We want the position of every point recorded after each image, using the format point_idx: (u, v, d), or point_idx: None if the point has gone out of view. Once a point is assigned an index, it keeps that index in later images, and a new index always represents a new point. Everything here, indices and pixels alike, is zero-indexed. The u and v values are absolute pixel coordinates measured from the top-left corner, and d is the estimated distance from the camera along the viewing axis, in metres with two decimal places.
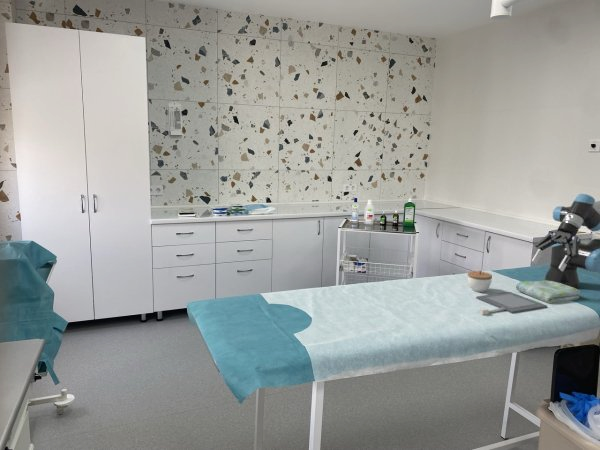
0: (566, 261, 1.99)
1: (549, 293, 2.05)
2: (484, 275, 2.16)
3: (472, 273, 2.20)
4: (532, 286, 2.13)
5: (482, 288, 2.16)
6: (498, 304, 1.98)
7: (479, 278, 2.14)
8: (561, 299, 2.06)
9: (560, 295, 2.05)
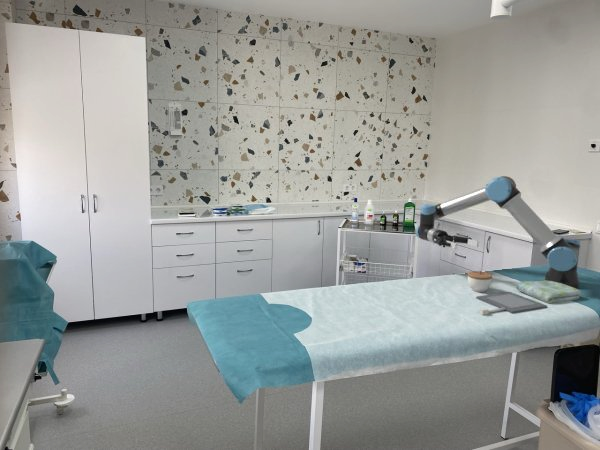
0: (448, 245, 2.27)
1: (549, 293, 2.05)
2: (484, 275, 2.16)
3: (472, 273, 2.20)
4: (532, 286, 2.13)
5: (482, 288, 2.16)
6: (498, 304, 1.98)
7: (479, 278, 2.14)
8: (561, 299, 2.06)
9: (560, 295, 2.05)
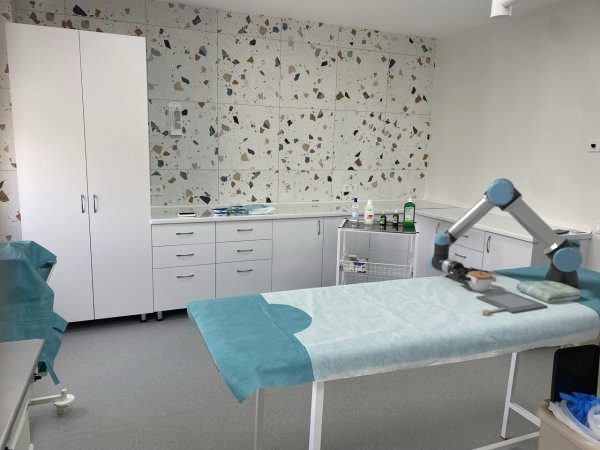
0: None
1: (548, 293, 2.05)
2: (484, 275, 2.16)
3: (472, 273, 2.20)
4: (532, 286, 2.13)
5: (482, 288, 2.16)
6: (498, 304, 1.98)
7: (479, 278, 2.14)
8: (561, 299, 2.06)
9: (560, 295, 2.05)
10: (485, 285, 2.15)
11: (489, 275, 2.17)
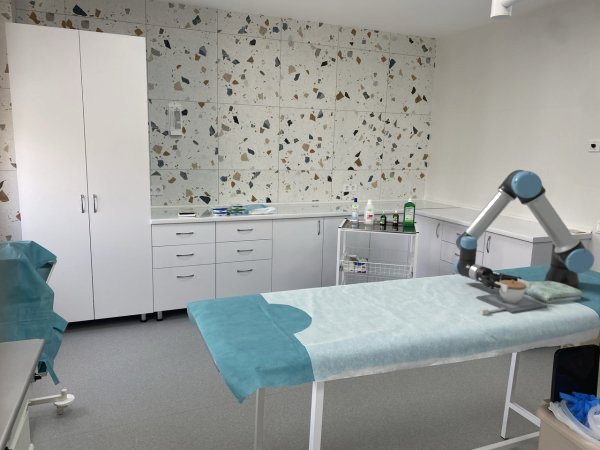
0: (498, 288, 2.00)
1: (548, 293, 2.05)
2: (517, 285, 1.99)
3: (504, 282, 2.02)
4: (533, 286, 2.13)
5: (515, 299, 1.98)
6: (498, 304, 1.98)
7: (512, 288, 1.97)
8: (561, 299, 2.05)
9: (560, 295, 2.05)
10: (519, 296, 1.98)
11: (523, 285, 2.00)
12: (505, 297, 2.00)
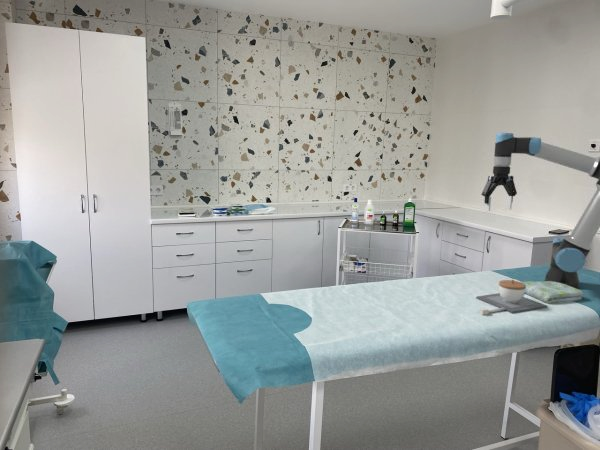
0: None
1: (548, 293, 2.04)
2: (517, 285, 1.99)
3: (504, 282, 2.02)
4: (533, 286, 2.13)
5: (515, 299, 1.98)
6: (498, 304, 1.98)
7: (512, 288, 1.97)
8: (562, 300, 2.05)
9: (560, 295, 2.04)
10: (519, 296, 1.98)
11: (523, 285, 2.00)
12: (505, 297, 2.00)
